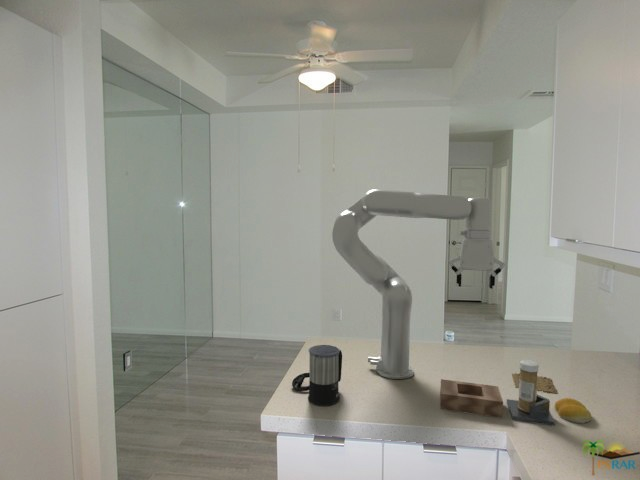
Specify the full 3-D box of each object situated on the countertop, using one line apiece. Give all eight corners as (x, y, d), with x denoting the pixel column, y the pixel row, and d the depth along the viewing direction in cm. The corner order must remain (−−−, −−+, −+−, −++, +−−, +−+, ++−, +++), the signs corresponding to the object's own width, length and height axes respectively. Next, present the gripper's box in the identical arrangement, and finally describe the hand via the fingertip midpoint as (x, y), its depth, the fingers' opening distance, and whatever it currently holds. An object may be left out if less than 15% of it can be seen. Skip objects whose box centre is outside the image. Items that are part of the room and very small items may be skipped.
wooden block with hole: (440, 409, 114) (441, 393, 114) (440, 393, 124) (440, 379, 123) (502, 418, 110) (503, 401, 109) (497, 401, 119) (497, 386, 119)
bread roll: (561, 422, 108) (562, 408, 108) (551, 406, 117) (552, 393, 117) (597, 426, 106) (598, 412, 106) (583, 410, 115) (584, 396, 115)
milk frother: (336, 408, 114) (337, 357, 112) (282, 402, 117) (282, 351, 116) (344, 386, 127) (345, 340, 126) (295, 381, 131) (296, 336, 130)
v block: (512, 420, 109) (513, 403, 108) (506, 401, 119) (507, 387, 118) (554, 426, 106) (555, 409, 106) (544, 407, 116) (545, 391, 116)
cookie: (510, 374, 140) (511, 371, 140) (550, 380, 135) (551, 377, 135) (514, 389, 128) (514, 386, 128) (558, 395, 124) (558, 392, 124)
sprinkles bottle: (539, 410, 112) (542, 363, 111) (529, 415, 109) (532, 366, 108) (523, 403, 116) (525, 357, 114) (513, 408, 113) (516, 361, 112)
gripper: (449, 235, 132) (447, 287, 133) (507, 237, 127) (505, 291, 129) (449, 233, 139) (447, 283, 141) (504, 235, 134) (501, 286, 136)
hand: (475, 286), depth 135 cm, fingers open, 9 cm apart
